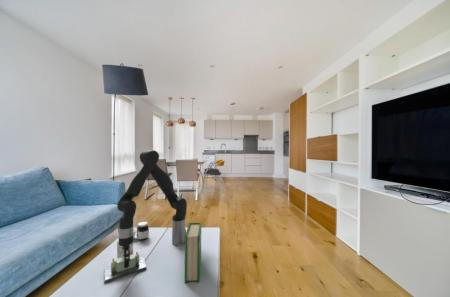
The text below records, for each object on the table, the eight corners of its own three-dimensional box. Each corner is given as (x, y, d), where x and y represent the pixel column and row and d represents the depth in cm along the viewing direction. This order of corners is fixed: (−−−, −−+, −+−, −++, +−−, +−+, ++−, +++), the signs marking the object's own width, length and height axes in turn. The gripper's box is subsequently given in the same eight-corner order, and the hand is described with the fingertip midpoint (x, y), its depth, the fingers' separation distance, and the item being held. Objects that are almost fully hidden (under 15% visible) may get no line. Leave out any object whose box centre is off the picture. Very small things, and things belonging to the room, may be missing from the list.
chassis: (142, 259, 114) (142, 246, 114) (146, 269, 104) (146, 256, 104) (104, 270, 103) (104, 257, 103) (104, 283, 93) (104, 268, 93)
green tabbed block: (138, 261, 109) (138, 252, 109) (139, 265, 106) (139, 256, 106) (110, 269, 101) (111, 260, 102) (111, 274, 98) (111, 264, 98)
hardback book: (199, 282, 94) (199, 235, 95) (184, 283, 94) (185, 236, 94) (200, 261, 112) (201, 222, 112) (188, 262, 111) (189, 222, 112)
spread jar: (150, 239, 140) (150, 223, 140) (134, 244, 132) (134, 228, 133) (144, 233, 149) (144, 219, 149) (129, 238, 141) (129, 223, 141)
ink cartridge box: (126, 253, 120) (126, 230, 121) (133, 254, 119) (133, 231, 120) (116, 260, 112) (116, 236, 112) (123, 261, 111) (123, 237, 111)
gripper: (135, 238, 100) (134, 267, 100) (131, 228, 112) (131, 255, 112) (119, 241, 96) (119, 272, 96) (117, 231, 108) (117, 259, 107)
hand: (125, 263), depth 104 cm, fingers open, 8 cm apart
